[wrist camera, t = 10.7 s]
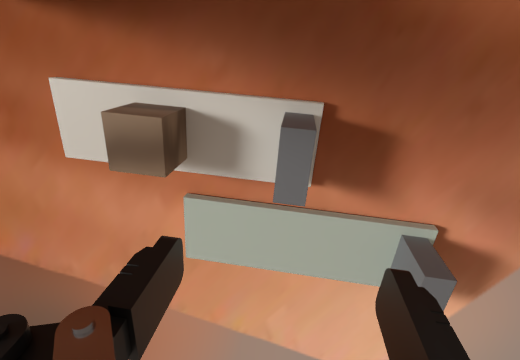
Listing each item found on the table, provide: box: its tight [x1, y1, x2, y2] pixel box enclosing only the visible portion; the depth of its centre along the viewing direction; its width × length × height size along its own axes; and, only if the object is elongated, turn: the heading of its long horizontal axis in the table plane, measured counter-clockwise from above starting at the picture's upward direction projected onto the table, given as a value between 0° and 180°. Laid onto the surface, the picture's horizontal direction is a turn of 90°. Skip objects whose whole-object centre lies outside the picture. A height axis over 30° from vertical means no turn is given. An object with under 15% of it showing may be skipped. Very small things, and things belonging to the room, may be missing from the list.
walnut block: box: [101, 102, 187, 177], centre depth 25 cm, size 5×5×5 cm
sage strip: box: [184, 193, 457, 311], centre depth 28 cm, size 8×26×7 cm, turn 86°
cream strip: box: [49, 77, 324, 206], centre depth 25 cm, size 8×26×7 cm, turn 86°
